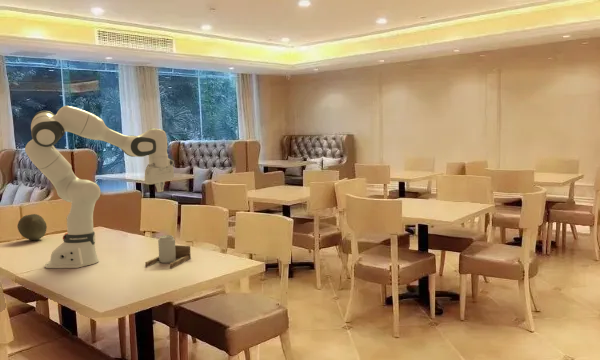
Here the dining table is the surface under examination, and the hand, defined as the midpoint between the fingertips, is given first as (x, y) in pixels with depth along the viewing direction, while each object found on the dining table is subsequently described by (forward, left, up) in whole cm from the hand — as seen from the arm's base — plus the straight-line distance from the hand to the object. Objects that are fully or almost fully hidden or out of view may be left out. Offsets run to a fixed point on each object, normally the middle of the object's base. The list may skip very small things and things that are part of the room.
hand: (160, 191), depth 242 cm
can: (+3, -11, -32) cm, 34 cm away
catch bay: (+4, -12, -32) cm, 34 cm away
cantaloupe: (-77, +57, -32) cm, 101 cm away
